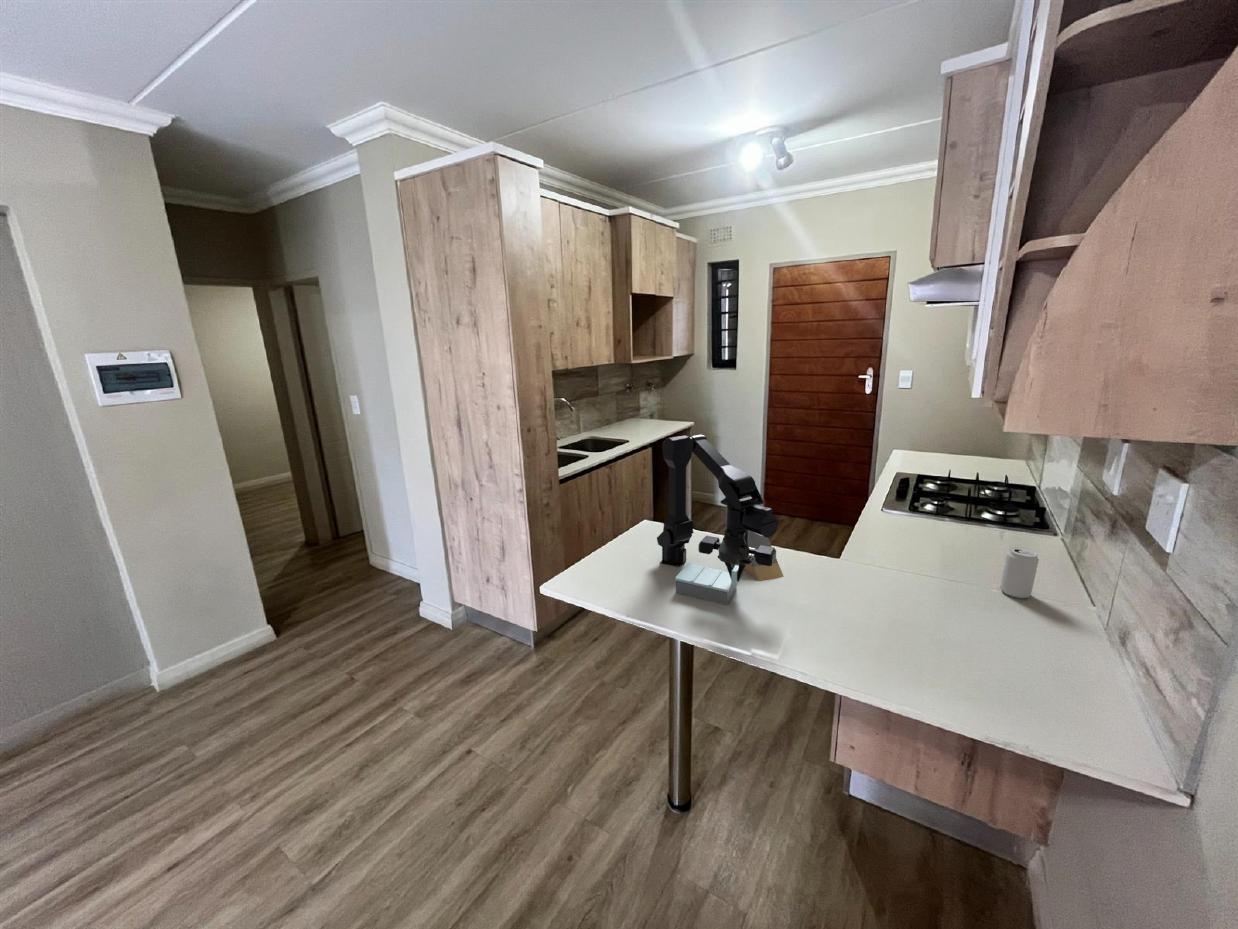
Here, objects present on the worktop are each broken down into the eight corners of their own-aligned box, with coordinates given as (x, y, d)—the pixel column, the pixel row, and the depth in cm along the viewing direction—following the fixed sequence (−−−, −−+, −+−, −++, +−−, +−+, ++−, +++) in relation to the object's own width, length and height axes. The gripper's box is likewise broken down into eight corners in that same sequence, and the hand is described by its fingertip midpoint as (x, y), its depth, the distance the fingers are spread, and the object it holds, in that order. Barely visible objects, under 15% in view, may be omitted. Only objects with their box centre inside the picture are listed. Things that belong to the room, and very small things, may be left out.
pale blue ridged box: (674, 580, 129) (674, 564, 127) (687, 565, 137) (687, 550, 135) (732, 593, 121) (733, 576, 120) (742, 577, 129) (743, 561, 128)
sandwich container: (759, 585, 134) (762, 535, 130) (732, 561, 148) (733, 516, 144) (786, 580, 136) (789, 531, 132) (756, 557, 150) (758, 512, 147)
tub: (675, 594, 130) (675, 581, 129) (687, 580, 137) (688, 567, 136) (726, 607, 123) (727, 593, 122) (736, 591, 131) (737, 577, 130)
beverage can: (1001, 584, 130) (1009, 544, 127) (1032, 593, 126) (1041, 551, 123) (997, 593, 126) (1005, 551, 123) (1028, 602, 121) (1038, 559, 118)
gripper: (691, 529, 119) (690, 586, 123) (768, 542, 110) (765, 603, 114) (706, 514, 128) (704, 568, 132) (778, 525, 119) (774, 582, 123)
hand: (735, 580), depth 125 cm, fingers closed on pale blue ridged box
